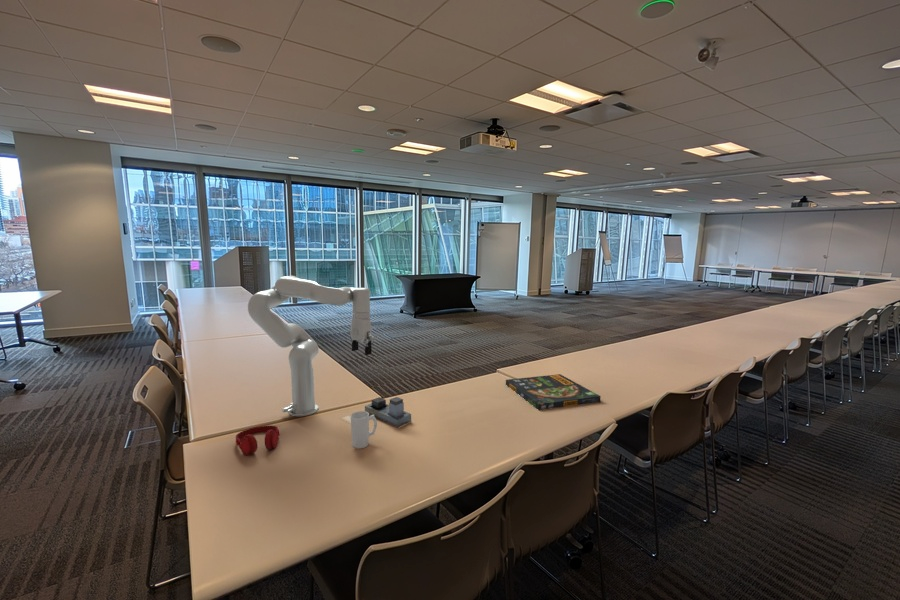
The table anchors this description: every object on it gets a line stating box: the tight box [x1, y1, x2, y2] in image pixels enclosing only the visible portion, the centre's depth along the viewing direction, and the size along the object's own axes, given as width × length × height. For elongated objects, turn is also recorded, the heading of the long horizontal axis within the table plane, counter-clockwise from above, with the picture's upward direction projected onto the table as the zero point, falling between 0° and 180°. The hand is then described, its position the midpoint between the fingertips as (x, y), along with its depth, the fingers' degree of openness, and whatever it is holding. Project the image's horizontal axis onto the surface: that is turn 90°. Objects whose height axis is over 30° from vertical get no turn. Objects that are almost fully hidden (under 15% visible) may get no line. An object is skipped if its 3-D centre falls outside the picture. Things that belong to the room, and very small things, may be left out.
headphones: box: [235, 425, 281, 456], centre depth 145 cm, size 15×7×20 cm
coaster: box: [340, 414, 351, 425], centre depth 167 cm, size 10×10×1 cm
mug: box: [350, 410, 378, 450], centre depth 145 cm, size 10×7×12 cm, turn 119°
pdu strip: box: [364, 397, 412, 429], centre depth 168 cm, size 8×22×6 cm, turn 50°
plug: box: [388, 396, 405, 418], centre depth 164 cm, size 4×4×9 cm
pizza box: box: [505, 373, 601, 411], centre depth 200 cm, size 35×35×4 cm
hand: (361, 352), depth 172 cm, fingers open, 9 cm apart
